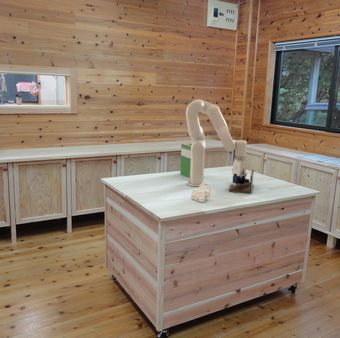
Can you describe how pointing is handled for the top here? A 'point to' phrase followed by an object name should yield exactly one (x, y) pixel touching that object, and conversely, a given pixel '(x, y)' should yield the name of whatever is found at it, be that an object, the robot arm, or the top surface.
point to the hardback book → (185, 159)
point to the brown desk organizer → (243, 186)
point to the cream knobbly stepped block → (199, 195)
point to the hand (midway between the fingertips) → (238, 182)
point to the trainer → (237, 181)
